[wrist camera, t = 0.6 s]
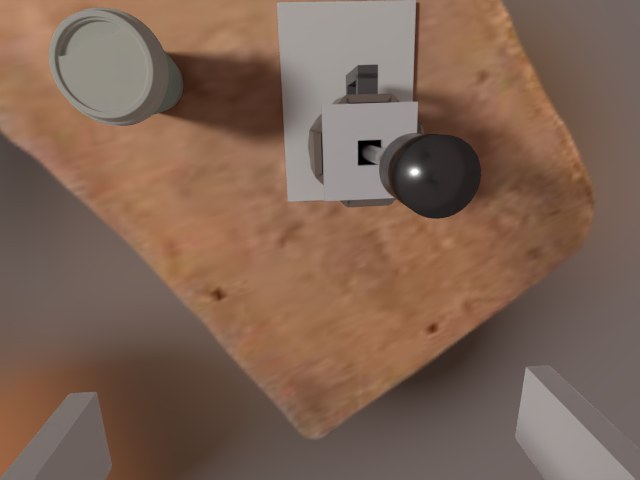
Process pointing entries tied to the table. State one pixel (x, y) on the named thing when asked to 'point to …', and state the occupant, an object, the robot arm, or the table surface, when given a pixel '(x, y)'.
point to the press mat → (336, 67)
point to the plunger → (428, 172)
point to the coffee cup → (113, 67)
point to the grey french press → (358, 139)
